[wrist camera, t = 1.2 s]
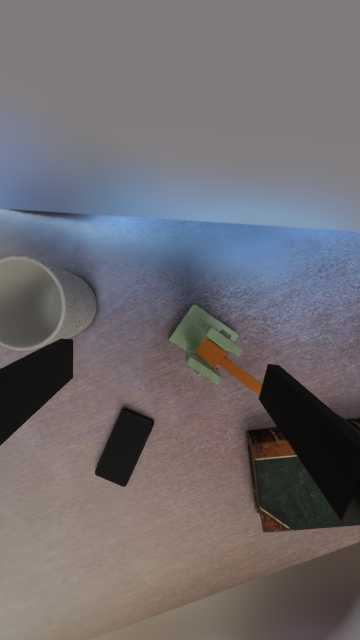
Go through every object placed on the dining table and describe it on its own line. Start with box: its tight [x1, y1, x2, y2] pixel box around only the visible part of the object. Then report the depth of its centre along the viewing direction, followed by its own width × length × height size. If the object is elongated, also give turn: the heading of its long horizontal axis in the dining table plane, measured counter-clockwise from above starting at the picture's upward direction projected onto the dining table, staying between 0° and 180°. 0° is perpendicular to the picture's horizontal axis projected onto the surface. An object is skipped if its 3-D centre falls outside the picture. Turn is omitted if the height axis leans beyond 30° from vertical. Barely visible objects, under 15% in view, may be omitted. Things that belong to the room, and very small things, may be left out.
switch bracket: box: [169, 304, 244, 385], centre depth 27 cm, size 10×8×14 cm
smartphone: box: [95, 408, 154, 487], centre depth 35 cm, size 7×1×15 cm
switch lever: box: [196, 338, 263, 396], centre depth 19 cm, size 14×4×4 cm, turn 55°
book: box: [246, 420, 360, 532], centre depth 33 cm, size 17×4×25 cm
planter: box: [0, 256, 97, 351], centre depth 29 cm, size 12×12×11 cm
